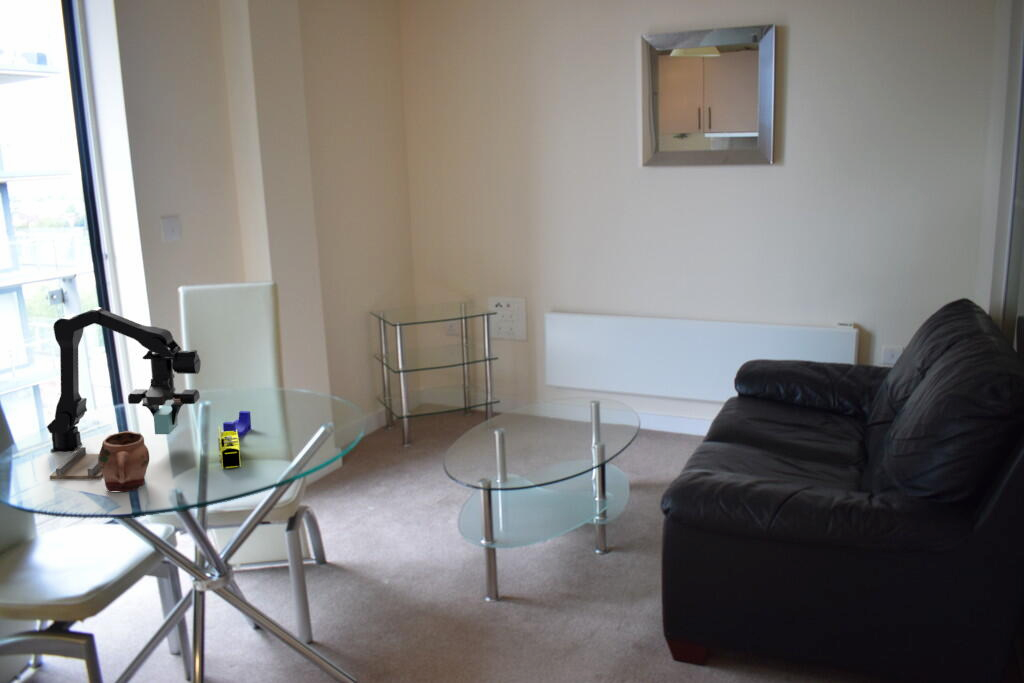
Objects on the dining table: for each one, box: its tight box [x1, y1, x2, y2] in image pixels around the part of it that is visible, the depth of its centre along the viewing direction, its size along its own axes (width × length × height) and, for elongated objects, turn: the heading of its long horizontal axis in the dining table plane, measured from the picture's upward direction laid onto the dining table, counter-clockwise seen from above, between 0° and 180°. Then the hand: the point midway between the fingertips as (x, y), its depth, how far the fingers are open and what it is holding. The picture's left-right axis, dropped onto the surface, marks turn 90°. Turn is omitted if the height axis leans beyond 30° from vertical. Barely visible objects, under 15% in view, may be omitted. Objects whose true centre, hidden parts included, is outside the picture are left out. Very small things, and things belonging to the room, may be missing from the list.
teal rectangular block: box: [153, 405, 179, 435], centre depth 254 cm, size 4×8×6 cm, turn 3°
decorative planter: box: [98, 430, 150, 492], centre depth 226 cm, size 20×12×14 cm, turn 25°
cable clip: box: [222, 410, 252, 439], centre depth 268 cm, size 12×4×6 cm, turn 171°
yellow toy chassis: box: [217, 426, 242, 470], centre depth 248 cm, size 16×6×8 cm, turn 20°
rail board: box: [49, 446, 104, 480], centre depth 240 cm, size 13×16×3 cm
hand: (166, 424), depth 254 cm, fingers closed on teal rectangular block, 4 cm apart
